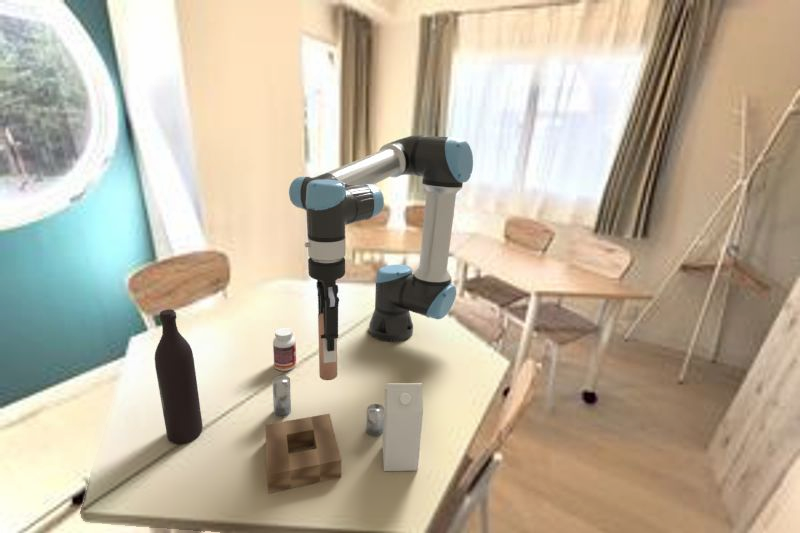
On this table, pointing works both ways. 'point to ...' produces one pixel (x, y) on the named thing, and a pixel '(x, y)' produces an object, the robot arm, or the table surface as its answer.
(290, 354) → the pill bottle
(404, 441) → the milk carton
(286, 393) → the medium pin
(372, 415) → the short pin
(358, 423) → the table surface
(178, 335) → the wine bottle
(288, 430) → the hole block
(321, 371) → the long pin
